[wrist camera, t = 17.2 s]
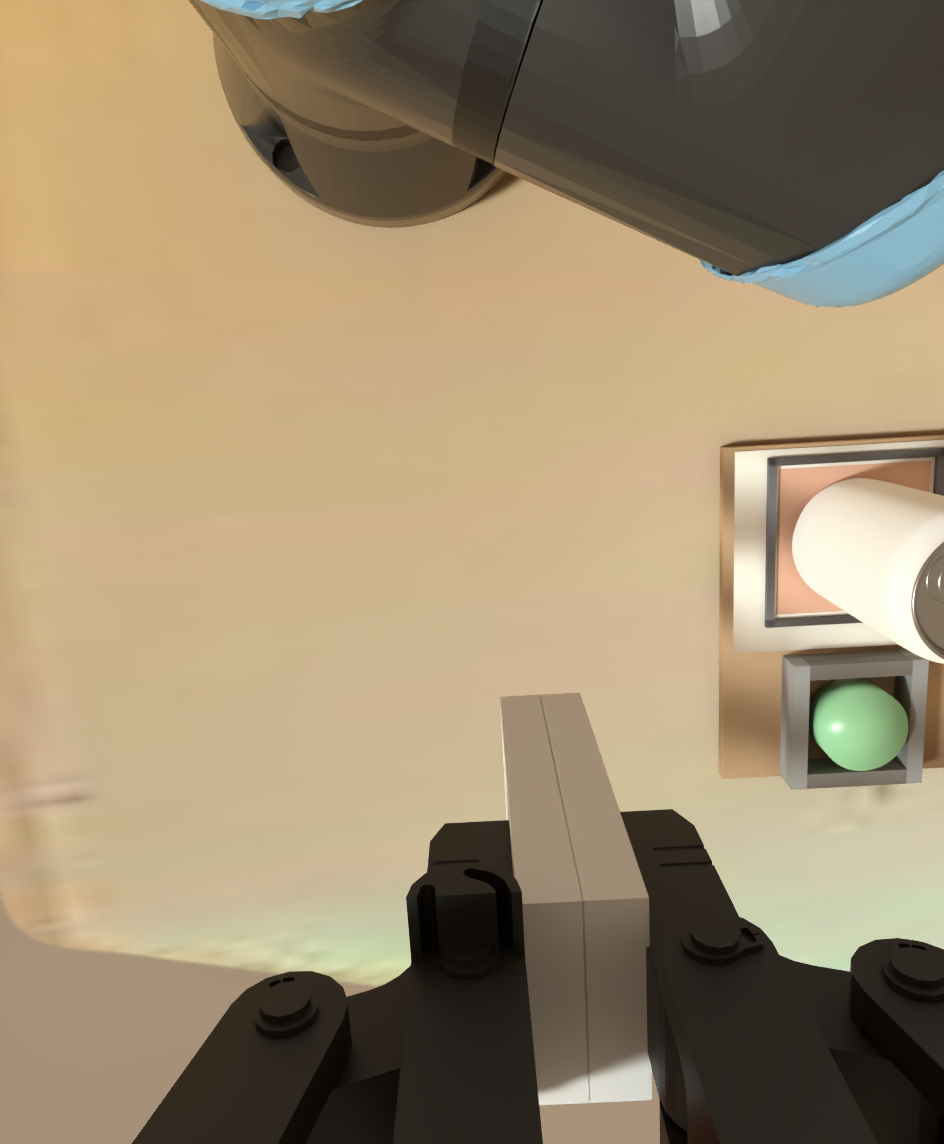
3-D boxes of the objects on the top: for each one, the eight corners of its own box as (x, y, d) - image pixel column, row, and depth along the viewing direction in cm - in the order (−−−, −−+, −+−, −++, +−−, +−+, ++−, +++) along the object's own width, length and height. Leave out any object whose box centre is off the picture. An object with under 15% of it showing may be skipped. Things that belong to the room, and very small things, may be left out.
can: (832, 453, 43) (964, 482, 32) (939, 512, 44) (1109, 561, 32) (764, 566, 45) (867, 632, 33) (870, 621, 45) (1008, 706, 34)
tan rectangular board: (720, 446, 44) (735, 451, 42) (976, 432, 44) (1007, 435, 42) (718, 772, 48) (732, 794, 46) (953, 760, 48) (980, 781, 45)
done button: (808, 679, 46) (823, 692, 44) (892, 674, 46) (910, 687, 44) (805, 756, 47) (820, 773, 45) (888, 752, 46) (906, 768, 45)
